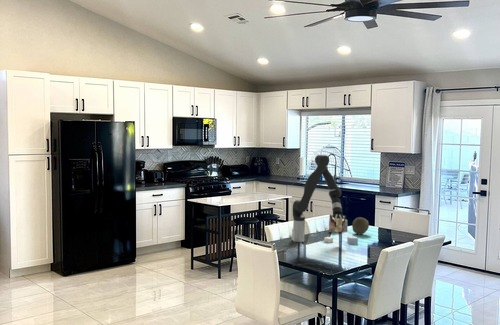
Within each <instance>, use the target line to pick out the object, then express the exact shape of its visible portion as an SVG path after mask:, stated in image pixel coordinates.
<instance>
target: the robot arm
mask: <svg viewBox="0 0 500 325" xmlns="http://www.w3.org/2000/svg"><path fill="white" fill-rule="evenodd" d="M314 162H315V165H316V168H315V169H314V171H313V172H311V174H310V175H308V177H307V179H306V181H305V183H304V186H303V187H304V188H303V195H302V197H301V199H297V200H296V199H295V200H294V201H293V203H292V217H293V224H292V225H293V226H292V227H293V228H292V229H291V230H292V231H291V232H292V234H291V241H292V240H293V242H295V243H304V242H305V227H306V224H305V223H306V217H305V215H304V213H305V212H306V211H307V209H308V208H309V204H310V201H311V198H312V196H313V194H314V192H315V190H316V189H317V186H318V184H319V182H320V180H321V178H322V176H323V178H324V180H325V183H326V185H327V188H328V189H331V190H329V191H328V196H329V198H330V201H331V205H332V206H331V210H332V211H331V212H332V214H329V217H328V218H330V220H331V222H332V223H334V226H335V227H336V218H340V219H344V221H343V220H342V227H343V223H345V220H347V215H344V214H343V207H342V203H341V198H339V197H341V196H342V190H341V188H339V186H338V184H337V183H336V181H335V179H334V177H333V175H332V173H331V172H330V171H329V169H328V166H329V164H330V157H329V156H328V155H325V154H317V155H316V156H315V158H314ZM333 218H334V219H335V220H333Z"/></svg>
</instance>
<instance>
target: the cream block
mask: <svg viewBox="0 0 500 325" xmlns="http://www.w3.org/2000/svg"><path fill="white" fill-rule="evenodd" d="M323 238H324V239H323V241H324V243H334V237H330V236H326V237H323Z"/></svg>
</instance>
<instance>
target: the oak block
mask: <svg viewBox="0 0 500 325" xmlns="http://www.w3.org/2000/svg"><path fill="white" fill-rule="evenodd" d="M342 219H343V218H342ZM342 219H340V218H336V227H335V231H336V232H335V233H342V232H343V231H342Z"/></svg>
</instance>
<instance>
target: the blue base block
mask: <svg viewBox="0 0 500 325" xmlns="http://www.w3.org/2000/svg"><path fill="white" fill-rule="evenodd" d="M346 239H347V242H346V243H348V244H349V245H358V241H359V238H358V237H357V235H356V236H351V235H348V236H347V238H346Z"/></svg>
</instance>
